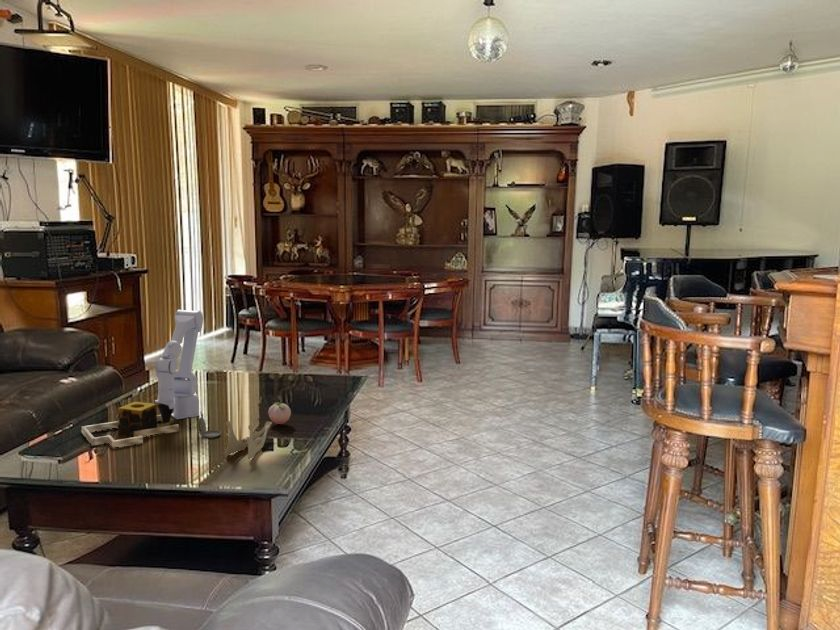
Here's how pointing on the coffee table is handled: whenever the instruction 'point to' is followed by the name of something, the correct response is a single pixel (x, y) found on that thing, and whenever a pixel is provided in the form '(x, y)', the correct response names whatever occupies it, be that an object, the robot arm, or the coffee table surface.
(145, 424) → the candle
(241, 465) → the coffee table surface
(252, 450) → the jawbone
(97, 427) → the trap channel
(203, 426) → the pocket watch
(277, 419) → the decorative fruit
